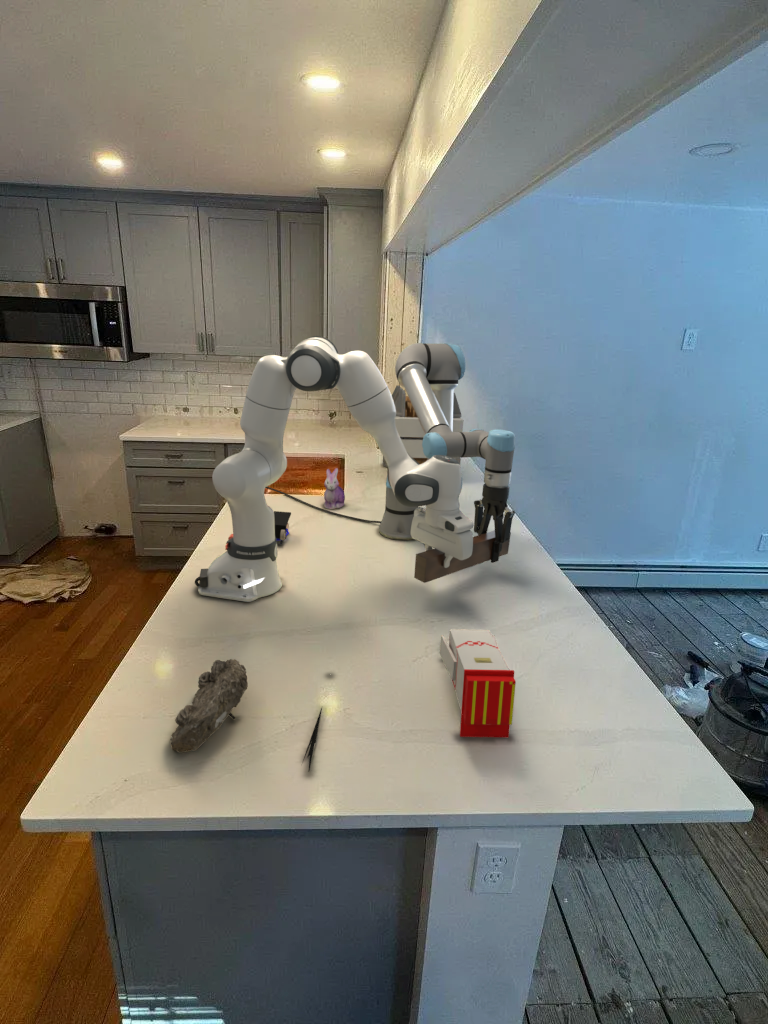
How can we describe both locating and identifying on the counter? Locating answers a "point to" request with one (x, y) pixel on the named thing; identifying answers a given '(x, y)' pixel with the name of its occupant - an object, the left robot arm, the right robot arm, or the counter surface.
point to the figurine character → (281, 525)
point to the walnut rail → (432, 559)
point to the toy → (479, 682)
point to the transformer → (416, 425)
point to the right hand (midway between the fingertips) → (488, 558)
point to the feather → (313, 740)
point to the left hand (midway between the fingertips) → (438, 563)
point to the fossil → (210, 704)
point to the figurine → (333, 491)
